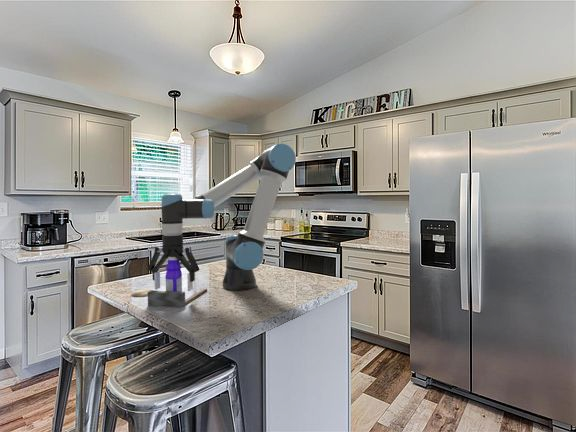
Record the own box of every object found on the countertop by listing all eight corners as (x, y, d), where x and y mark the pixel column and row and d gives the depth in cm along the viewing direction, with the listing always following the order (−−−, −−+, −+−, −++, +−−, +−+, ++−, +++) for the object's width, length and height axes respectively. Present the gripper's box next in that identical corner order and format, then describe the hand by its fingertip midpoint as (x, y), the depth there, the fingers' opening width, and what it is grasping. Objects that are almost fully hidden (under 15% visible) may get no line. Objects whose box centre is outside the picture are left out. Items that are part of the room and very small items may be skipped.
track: (207, 290, 142) (206, 279, 142) (182, 307, 120) (181, 293, 120) (177, 289, 145) (177, 278, 144) (147, 305, 123) (147, 292, 122)
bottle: (169, 298, 131) (168, 254, 131) (184, 298, 132) (183, 254, 131) (163, 304, 124) (162, 257, 124) (179, 303, 125) (178, 257, 124)
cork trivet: (159, 291, 142) (159, 290, 142) (146, 297, 133) (146, 295, 133) (140, 290, 144) (140, 289, 144) (126, 296, 135) (126, 294, 135)
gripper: (207, 233, 129) (208, 288, 129) (148, 233, 133) (149, 285, 134) (199, 235, 121) (200, 293, 122) (136, 235, 125) (138, 290, 126)
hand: (173, 289), depth 128 cm, fingers open, 13 cm apart
